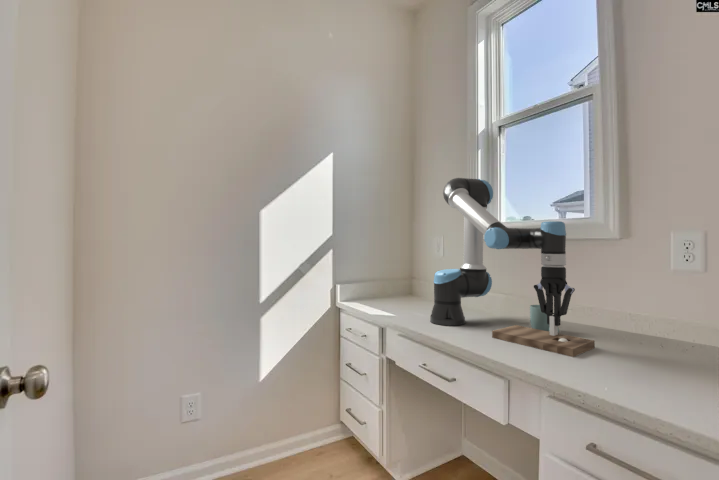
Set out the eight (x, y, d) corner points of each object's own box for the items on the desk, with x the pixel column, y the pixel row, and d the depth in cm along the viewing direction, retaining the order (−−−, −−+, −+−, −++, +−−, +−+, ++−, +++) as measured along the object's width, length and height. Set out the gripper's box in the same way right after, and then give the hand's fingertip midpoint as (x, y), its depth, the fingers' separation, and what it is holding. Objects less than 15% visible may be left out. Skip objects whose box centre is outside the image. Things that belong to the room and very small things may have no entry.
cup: (554, 334, 136) (554, 308, 136) (533, 333, 138) (532, 307, 138) (548, 329, 144) (548, 305, 144) (527, 328, 145) (527, 304, 145)
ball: (565, 339, 116) (566, 349, 116) (570, 338, 118) (570, 347, 118) (555, 338, 119) (556, 347, 119) (560, 336, 121) (560, 346, 121)
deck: (492, 337, 131) (492, 330, 131) (515, 331, 141) (515, 325, 141) (573, 357, 109) (573, 348, 109) (594, 348, 118) (594, 340, 118)
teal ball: (547, 333, 127) (547, 325, 127) (551, 332, 129) (551, 323, 129) (556, 335, 124) (556, 326, 124) (560, 334, 126) (560, 325, 126)
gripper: (529, 265, 125) (529, 332, 124) (568, 267, 114) (568, 340, 114) (539, 264, 129) (540, 329, 129) (578, 266, 118) (579, 337, 118)
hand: (553, 334), depth 121 cm, fingers closed
